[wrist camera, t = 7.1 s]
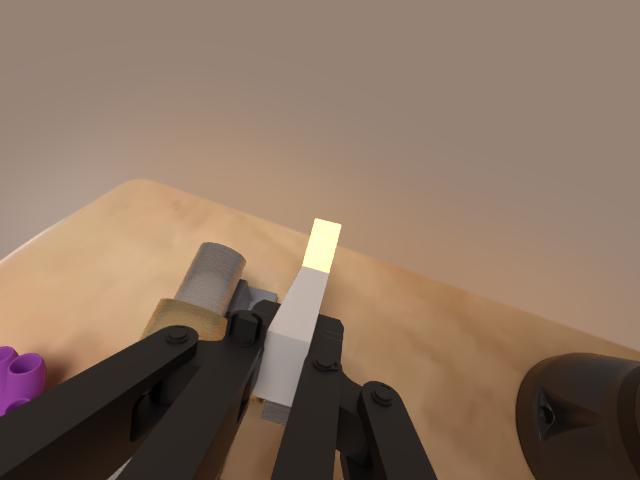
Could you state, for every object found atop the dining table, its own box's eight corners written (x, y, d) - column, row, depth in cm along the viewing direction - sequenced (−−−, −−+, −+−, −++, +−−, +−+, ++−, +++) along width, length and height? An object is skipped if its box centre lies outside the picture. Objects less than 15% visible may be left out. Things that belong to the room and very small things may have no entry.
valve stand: (234, 520, 24) (200, 589, 15) (119, 485, 25) (15, 531, 15) (298, 304, 33) (301, 261, 24) (212, 281, 33) (182, 229, 24)
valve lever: (289, 426, 20) (341, 223, 23) (259, 417, 20) (315, 217, 23) (292, 413, 23) (339, 232, 26) (265, 405, 23) (315, 226, 26)
